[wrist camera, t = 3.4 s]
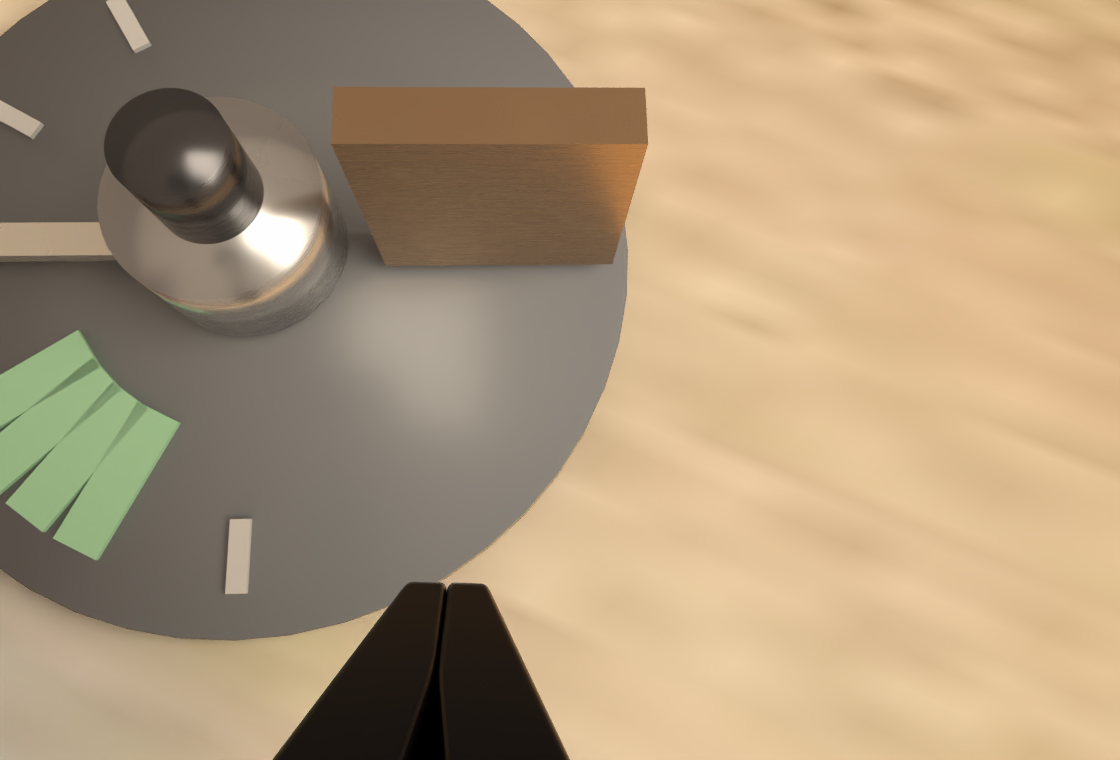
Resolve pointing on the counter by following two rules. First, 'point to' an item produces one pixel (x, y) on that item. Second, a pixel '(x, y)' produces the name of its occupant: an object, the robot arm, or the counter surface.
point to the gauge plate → (270, 343)
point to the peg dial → (375, 179)
